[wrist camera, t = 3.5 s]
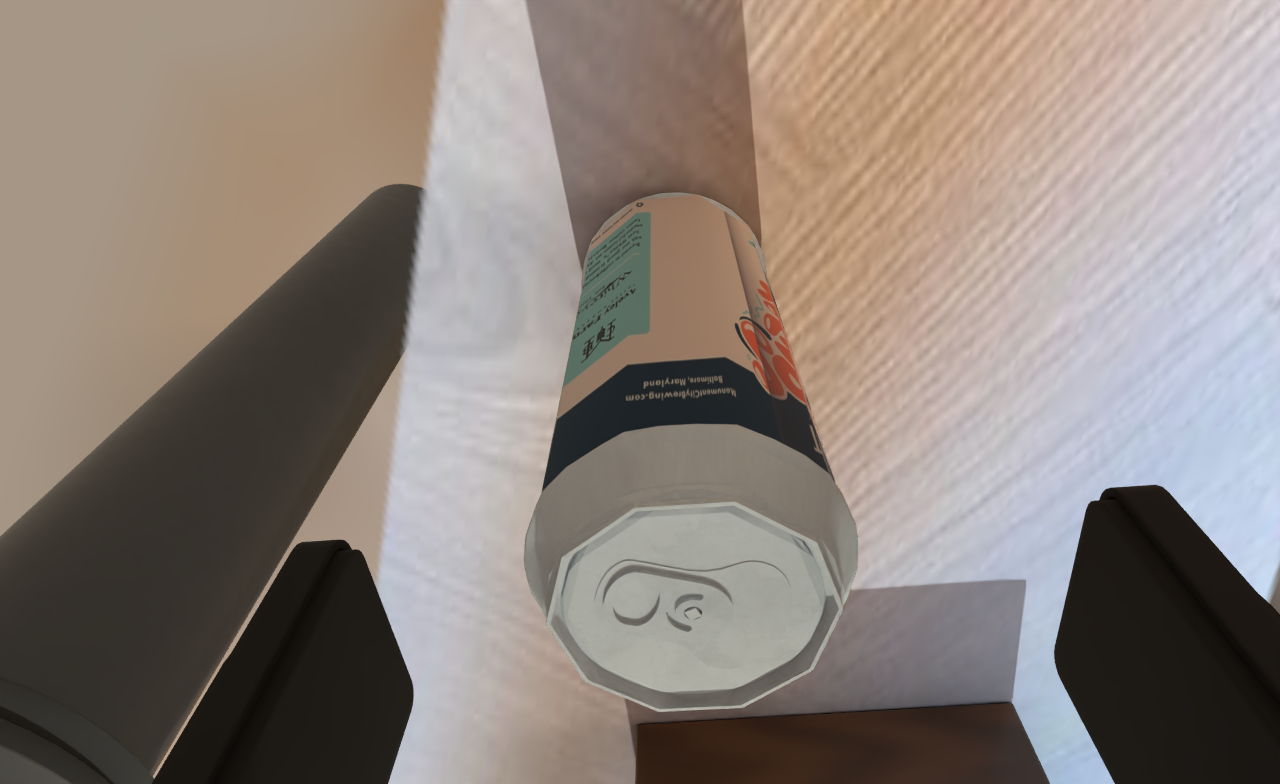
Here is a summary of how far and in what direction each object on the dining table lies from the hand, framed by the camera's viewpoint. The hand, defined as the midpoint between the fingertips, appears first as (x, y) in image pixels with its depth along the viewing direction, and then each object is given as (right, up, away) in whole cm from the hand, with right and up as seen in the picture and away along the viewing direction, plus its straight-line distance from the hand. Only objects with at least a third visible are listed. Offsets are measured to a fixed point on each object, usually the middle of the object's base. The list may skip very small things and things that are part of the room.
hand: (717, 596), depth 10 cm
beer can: (0, +6, +11) cm, 12 cm away
